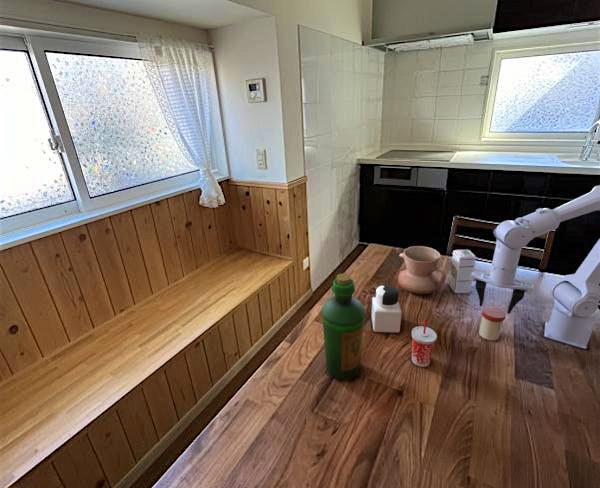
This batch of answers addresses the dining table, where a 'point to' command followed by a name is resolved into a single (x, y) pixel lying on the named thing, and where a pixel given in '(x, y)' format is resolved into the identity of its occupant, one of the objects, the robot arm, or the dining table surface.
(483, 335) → the jam jar
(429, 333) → the beverage cup
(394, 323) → the container
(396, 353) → the dining table surface
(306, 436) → the dining table surface
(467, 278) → the syrup box
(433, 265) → the ceramic jug
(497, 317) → the jar lid
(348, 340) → the bottle
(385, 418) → the dining table surface
